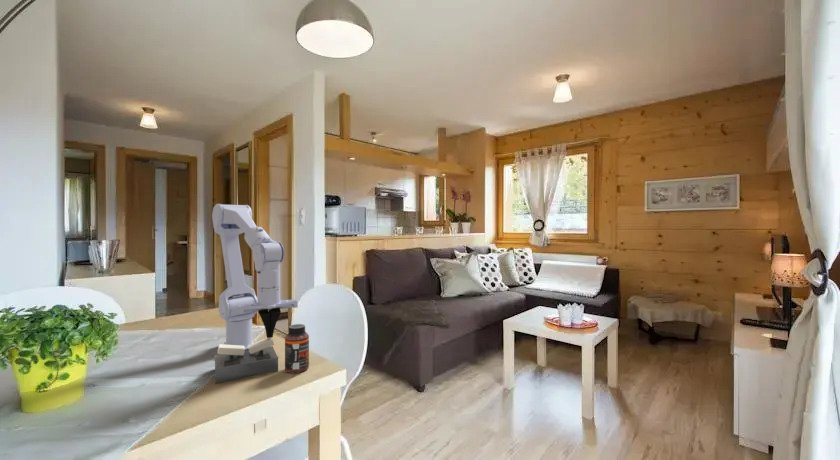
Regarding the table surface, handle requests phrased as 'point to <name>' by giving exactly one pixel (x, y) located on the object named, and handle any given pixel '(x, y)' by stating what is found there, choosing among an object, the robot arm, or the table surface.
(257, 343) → the rocker
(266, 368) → the rocker switch box
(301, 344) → the supplement bottle
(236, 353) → the block
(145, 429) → the table surface
